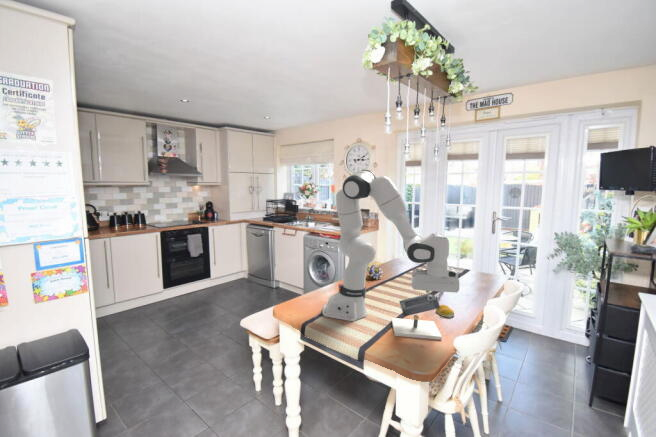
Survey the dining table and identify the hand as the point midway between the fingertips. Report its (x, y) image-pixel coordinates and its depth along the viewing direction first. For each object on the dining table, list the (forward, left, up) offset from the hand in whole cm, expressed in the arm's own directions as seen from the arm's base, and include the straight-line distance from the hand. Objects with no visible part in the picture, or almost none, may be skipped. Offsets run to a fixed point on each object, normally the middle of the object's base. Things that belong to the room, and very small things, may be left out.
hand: (433, 299), depth 135 cm
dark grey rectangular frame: (-6, 0, -4) cm, 7 cm away
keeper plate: (-7, 0, -15) cm, 17 cm away
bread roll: (+12, +20, -16) cm, 28 cm away
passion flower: (-23, +69, -16) cm, 74 cm away
